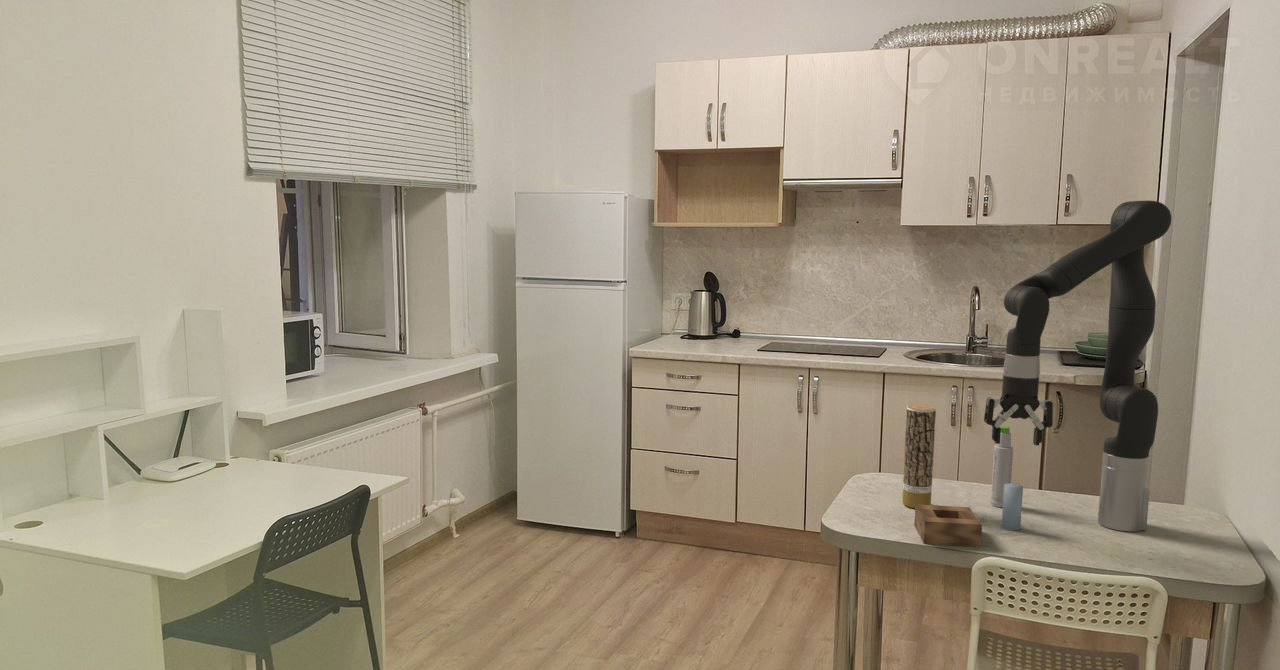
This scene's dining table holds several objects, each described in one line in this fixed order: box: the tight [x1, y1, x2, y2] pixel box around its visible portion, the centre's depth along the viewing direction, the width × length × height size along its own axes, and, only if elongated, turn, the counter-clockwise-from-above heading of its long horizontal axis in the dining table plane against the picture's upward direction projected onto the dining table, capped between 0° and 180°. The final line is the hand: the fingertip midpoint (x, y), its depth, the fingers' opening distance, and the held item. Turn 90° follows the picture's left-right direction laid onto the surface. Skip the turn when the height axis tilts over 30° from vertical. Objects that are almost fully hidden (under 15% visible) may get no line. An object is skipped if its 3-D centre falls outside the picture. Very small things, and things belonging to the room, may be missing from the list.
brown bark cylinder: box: [902, 404, 937, 509], centre depth 213 cm, size 7×7×25 cm
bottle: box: [990, 425, 1014, 509], centre depth 214 cm, size 4×4×20 cm
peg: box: [1001, 482, 1024, 532], centre depth 198 cm, size 4×4×10 cm
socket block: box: [913, 504, 983, 548], centre depth 193 cm, size 12×12×5 cm
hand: (1016, 443), depth 197 cm, fingers open, 8 cm apart
